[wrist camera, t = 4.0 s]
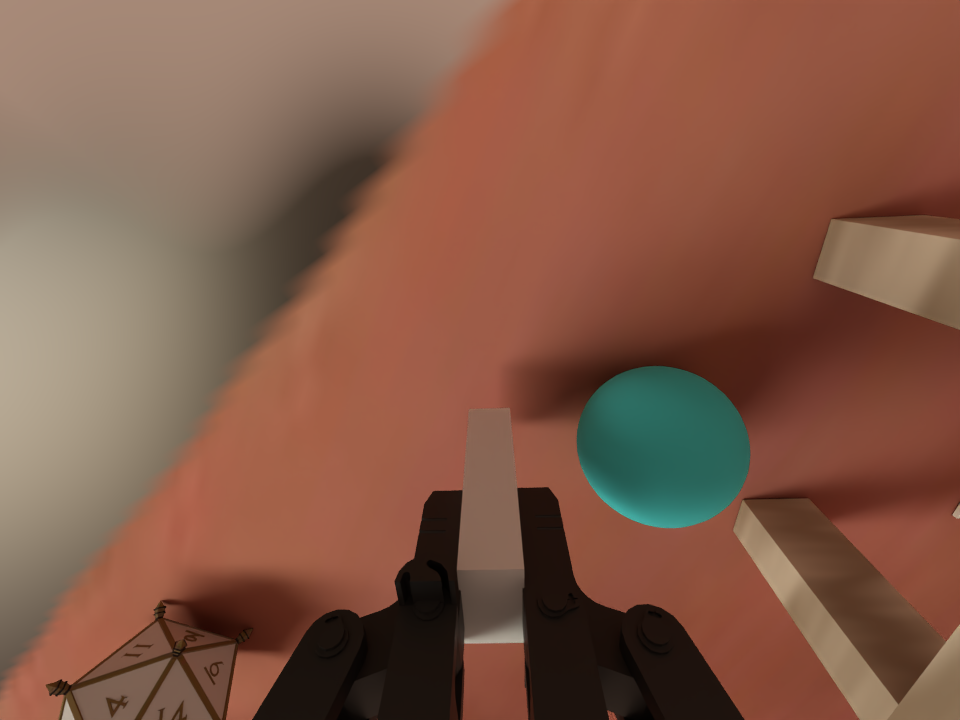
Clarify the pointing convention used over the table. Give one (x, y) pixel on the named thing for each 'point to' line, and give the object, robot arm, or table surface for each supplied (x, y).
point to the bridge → (816, 540)
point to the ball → (663, 446)
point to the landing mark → (957, 512)
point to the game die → (157, 677)
